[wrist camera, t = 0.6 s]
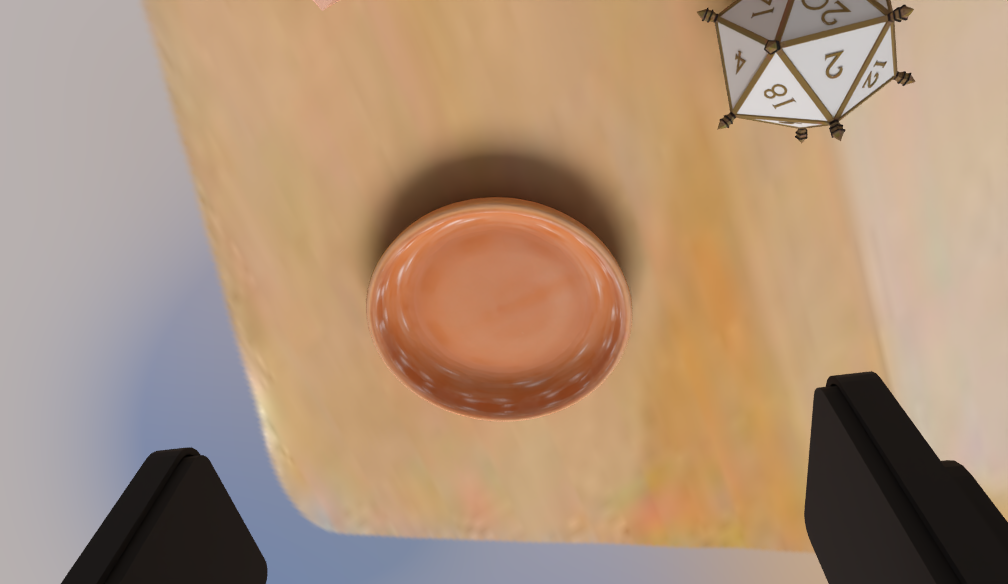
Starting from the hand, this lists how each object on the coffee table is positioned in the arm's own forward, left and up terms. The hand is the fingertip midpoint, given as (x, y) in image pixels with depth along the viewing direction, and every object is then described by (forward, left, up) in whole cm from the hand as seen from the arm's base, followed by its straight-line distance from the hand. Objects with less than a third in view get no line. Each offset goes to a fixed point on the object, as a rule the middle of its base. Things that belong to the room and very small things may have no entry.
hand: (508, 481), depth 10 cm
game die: (-11, +6, -28) cm, 31 cm away
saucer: (+10, +10, -28) cm, 32 cm away
